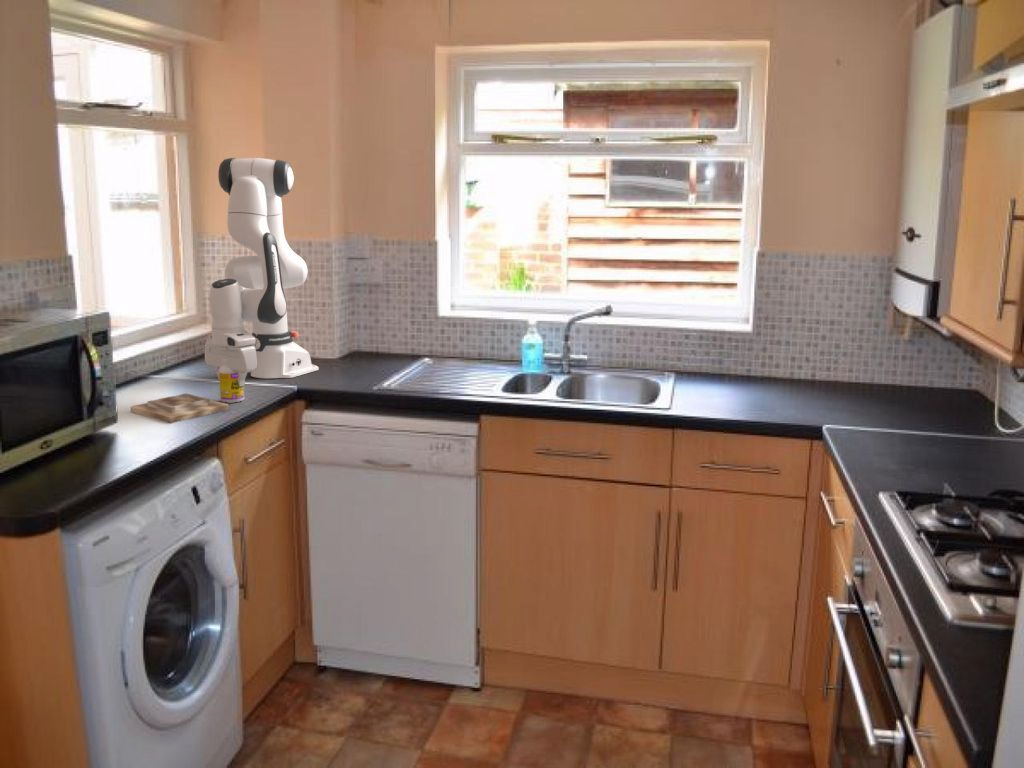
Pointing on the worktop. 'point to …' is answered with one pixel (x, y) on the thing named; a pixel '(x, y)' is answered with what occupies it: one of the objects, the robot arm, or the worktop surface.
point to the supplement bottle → (229, 384)
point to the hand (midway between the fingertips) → (231, 383)
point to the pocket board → (179, 407)
